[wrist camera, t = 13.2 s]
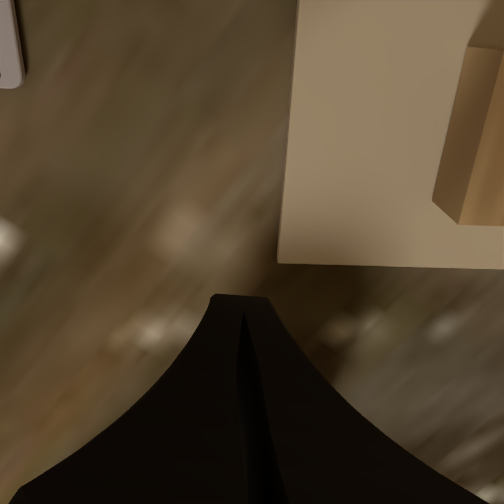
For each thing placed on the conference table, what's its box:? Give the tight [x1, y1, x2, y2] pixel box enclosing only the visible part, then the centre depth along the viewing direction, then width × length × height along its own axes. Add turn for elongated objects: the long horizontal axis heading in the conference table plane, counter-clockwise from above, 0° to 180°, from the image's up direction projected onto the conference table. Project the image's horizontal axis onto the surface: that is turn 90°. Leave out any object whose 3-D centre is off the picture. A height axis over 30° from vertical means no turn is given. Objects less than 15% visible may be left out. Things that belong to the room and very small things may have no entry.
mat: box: [277, 0, 504, 269], centre depth 19 cm, size 14×12×1 cm
